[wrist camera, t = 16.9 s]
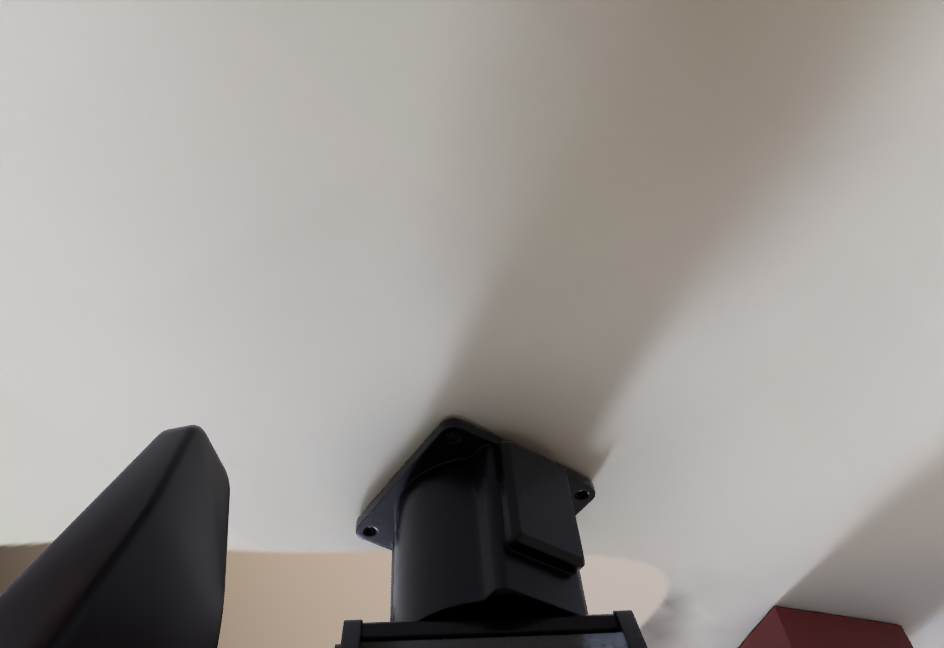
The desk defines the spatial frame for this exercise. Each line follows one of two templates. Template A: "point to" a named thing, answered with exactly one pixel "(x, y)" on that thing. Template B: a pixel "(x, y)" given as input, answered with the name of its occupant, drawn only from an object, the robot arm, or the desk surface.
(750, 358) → the desk surface
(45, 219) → the desk surface
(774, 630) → the toy houses
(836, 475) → the desk surface
